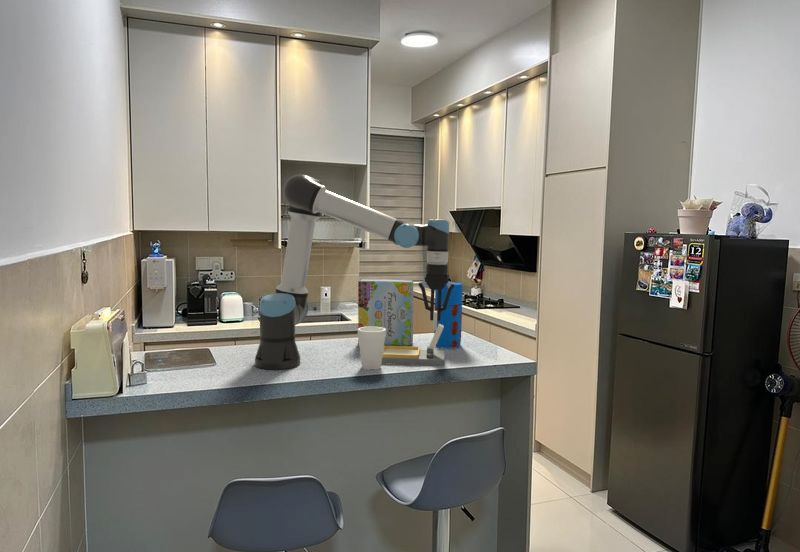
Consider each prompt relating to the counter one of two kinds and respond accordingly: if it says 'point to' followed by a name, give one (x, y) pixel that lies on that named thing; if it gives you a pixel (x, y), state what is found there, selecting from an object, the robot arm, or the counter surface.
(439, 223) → the robot arm
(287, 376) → the counter surface
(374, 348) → the foam cup
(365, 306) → the snack box
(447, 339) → the thermos
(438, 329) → the lever
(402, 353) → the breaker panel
